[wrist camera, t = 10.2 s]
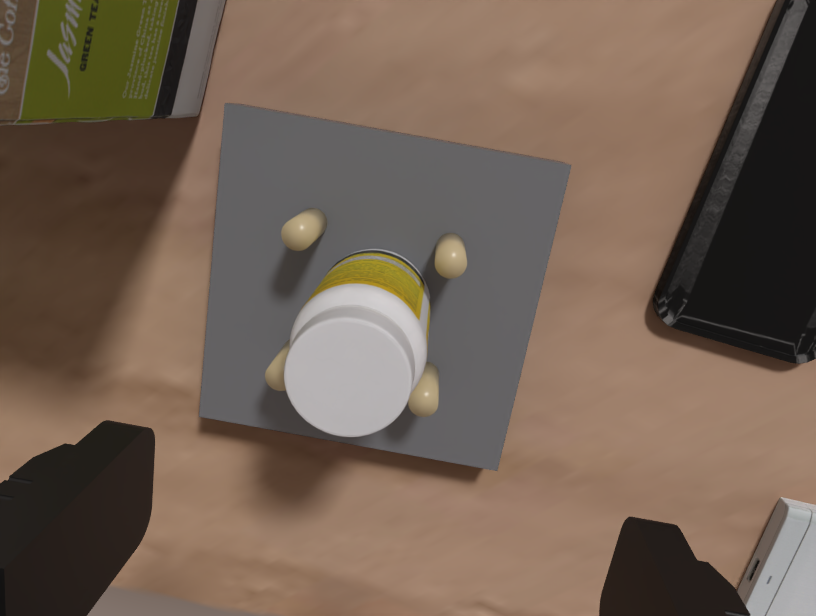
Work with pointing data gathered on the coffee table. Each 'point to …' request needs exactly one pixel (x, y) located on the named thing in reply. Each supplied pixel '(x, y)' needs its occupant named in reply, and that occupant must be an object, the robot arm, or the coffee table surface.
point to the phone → (756, 208)
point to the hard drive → (784, 564)
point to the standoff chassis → (389, 230)
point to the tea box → (104, 59)
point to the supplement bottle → (359, 344)
